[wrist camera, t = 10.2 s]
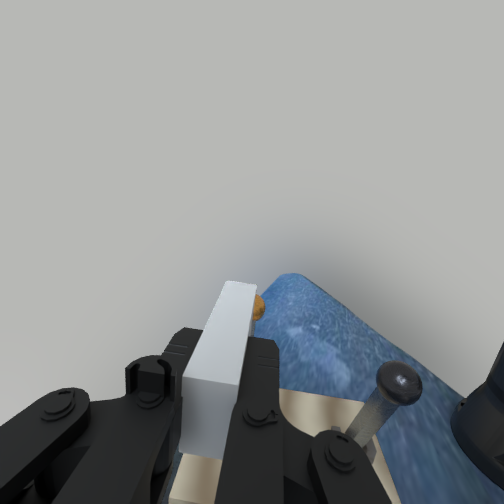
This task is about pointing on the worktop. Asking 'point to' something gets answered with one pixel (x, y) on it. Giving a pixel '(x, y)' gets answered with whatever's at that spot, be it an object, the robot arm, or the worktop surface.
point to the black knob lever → (385, 399)
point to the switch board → (300, 416)
